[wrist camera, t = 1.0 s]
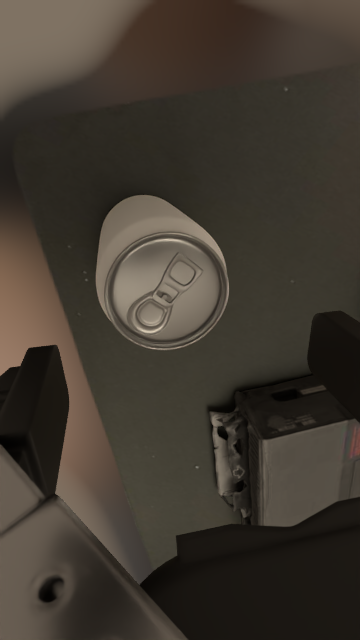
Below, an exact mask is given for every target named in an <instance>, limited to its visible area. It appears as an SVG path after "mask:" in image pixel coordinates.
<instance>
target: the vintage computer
mask: <svg viewBox="0 0 360 640" xmlns="http://www.w3.org/2000/svg"><path fill="white" fill-rule="evenodd" d="M234 395H235V410H234V412H230V413H221V412H212V411H209V413H210V420H211V423H212V424H213V433H212V434H213V442H214V447H216V448H217V449H215V450H214V453H215V459H216V478H217V487H218V492H219V495H220V496H221V498H222V499H223V500H224V501H225V502H226V503H227V504H228V505H229V507H230V508H231V509H232V511H233V512H234V511H236V510H238V509H241V513H242V525H261V526H282V527H290V526H294V525H296V524H298V523H300V522H302V521H303V520H305V519H307V518H309V517H310V516H312V515H314V514H316V513H317V512H319V511H321V510H323V509H324V508H326V507H328V506H330V505H331V504H333V503H335V502H337V501H342V500H346V499H351V498H356V497H360V423H359V422H358V421H357V420H356V419H355V418H354V417H353V416H352V415H351V414H350V413H349V412H348V411H347V410H346V409H345V408H344V406H343V405H342V404H341V403H340V402H339V401H338V400H337V399H336V398H335V397H334V396H333V395H332V394H331V393H330V392H329V391H328V390H327V389H326V388H325V387H324V386H323V384H322V383H321V382H320V381H319V380H318V379H317V378H316V377H315V376H314V375H312V376H308V377H304V378H300V379H296V380H292V381H288V382H283V383H280V384H277V385H274V386H267V387H261V388H256V389H251V390H246V391H243V392H238V391H237V392H236V393H235V394H234ZM234 415H235V421H229V422H227V421H228V420H229V419H231V418H232V417H233V416H234ZM218 426H224V428H225V430H226V432H227V434H228V436H229V437H228V440H225V439H223V438H222V437H220V436H218V434H217V428H218ZM235 428H236V432H235V430H234V429H235ZM236 441H237V451H236V448H235V443H236ZM224 496H233V505H231V504H229V503H228V501H227V500H226V498H225V497H224Z"/></svg>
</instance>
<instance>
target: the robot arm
mask: <svg viewBox="0 0 360 640" xmlns="http://www.w3.org/2000/svg"><path fill="white" fill-rule="evenodd" d="M307 360H308V365H309V368H310V371H311V372H312V374H313V375H314V376H315V377H316V378H317V379H318V380H319V381H320V382H321V383H322V384H323V386H324V387H325V388H326V389H327V390H328V391H329V392H330V393H331V394H332V395H333V396H334V397H335V398H336V399H337V400H338V401H339V402H340V403H341V404H342V405H343V406H344V408H345V409H346V410H347V411H348V412H349V413H350V414H351V415H352V416H353V417H354V418H355V419H356V420H357V421H358V422H359V423H360V322H358V321H356V320H355V319H353V318H352V317H350V316H349V315H347V314H346V313H344V312H342V311H333V312H324V313H317V314H316V315H315V316H314V317H313V320H312V326H311V334H310V341H309V348H308V356H307ZM68 412H69V394H68V388H67V384H66V380H65V375H64V370H63V366H62V361H61V357H60V353H59V349H58V347H57V345H50V346H41V347H33V348H29V349H28V350H27V352H26V354H25V357H24V359H23V361H22V363H21V366H18V367H11V368H9V369H8V370H7V371H6V372H5V373H3V374H2V375H1V376H0V640H360V497H356V498H351V499H346V500H342V501H337V502H335V503H333V504H331V505H330V506H328V507H326V508H324V509H323V510H321V511H319V512H317V513H316V514H314V515H312V516H310V517H309V518H307V519H305V520H303V521H302V522H300V523H298V524H296V525H294V526H290V527H282V526H261V525H239V524H229V525H224V526H220V527H215V528H210V529H206V530H201V531H196V532H191V533H187V534H182V535H177V536H176V541H177V555H178V556H176V557H174V558H172V559H170V560H169V561H167V562H165V563H164V564H163V565H161V566H160V567H158V568H157V569H156V570H154V571H153V572H152V573H151V574H150V575H149V576H148V577H147V578H146V579H145V580H144V581H143V582H142V583H141V584H140V585H139V584H138V583H137V582H136V581H135V580H134V579H133V578H132V576H131V575H130V574H129V573H128V572H127V571H126V570H125V569H124V568H123V567H122V566H121V564H120V563H119V562H118V561H117V560H116V559H115V558H114V556H113V555H112V554H111V553H110V552H109V551H108V550H107V549H106V548H105V546H104V545H103V544H102V543H101V542H100V541H99V540H98V539H97V537H96V536H95V535H94V534H93V533H92V532H91V531H90V530H89V529H88V527H87V526H86V525H85V524H84V523H83V522H82V521H81V520H80V519H79V518H78V516H77V515H76V514H75V513H74V512H73V511H72V510H71V509H70V507H69V506H68V505H67V504H66V503H65V502H64V501H63V500H62V499H61V498H60V497H59V496H58V495H56V494H55V491H56V485H57V479H58V472H59V466H60V460H61V454H62V448H63V442H64V436H65V430H66V424H67V418H68Z"/></svg>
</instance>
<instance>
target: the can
mask: <svg viewBox="0 0 360 640" xmlns="http://www.w3.org/2000/svg"><path fill="white" fill-rule="evenodd" d="M96 290H97V295H98V298H99V302H100V304H101V307H102V309H103V311H104V312H105V314H106V316H107V317H108V318H109V320H110V321H111V322H112V324H113V325H114V326H115V328H116V329H117V330H118V331H119V332H120V333H121V334H122V335H123V336H124V337H125V338H126V339H128V340H129V341H131V342H133V343H134V344H136V345H139V346H141V347H144V348H148V349H153V350H174V349H179V348H183V347H186V346H188V345H191V344H193V343H195V342H196V341H198V340H200V339H201V338H203V337H204V336H205V335H207V334H208V333H209V332H210V331H211V330H212V329H213V328H214V326H215V325H216V324H217V323H218V321H219V320H220V318H221V316H222V314H223V312H224V310H225V307H226V304H227V300H228V294H229V281H228V276H227V270H226V264H225V260H224V257H223V255H222V252H221V250H220V248H219V247H218V245H217V243H216V242H215V241H214V239H213V238H212V237H211V236H210V235H209V234H208V233H207V232H206V231H205V230H204V229H203V228H202V227H201V226H199V225H198V224H197V223H196V222H194V221H193V220H192V219H190V218H189V217H188V216H186V215H185V214H184V213H182V212H181V211H180V210H178V209H177V208H175V207H174V206H173V205H171V204H170V203H168V202H167V201H165V200H163V199H161V198H158V197H155V196H150V195H137V196H132V197H129V198H127V199H124V200H123V201H121V202H119V203H118V204H117V205H115V206H114V207H113V208H112V209H111V211H110V212H109V213H108V215H107V216H106V218H105V220H104V222H103V225H102V229H101V234H100V241H99V249H98V257H97V267H96Z"/></svg>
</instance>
